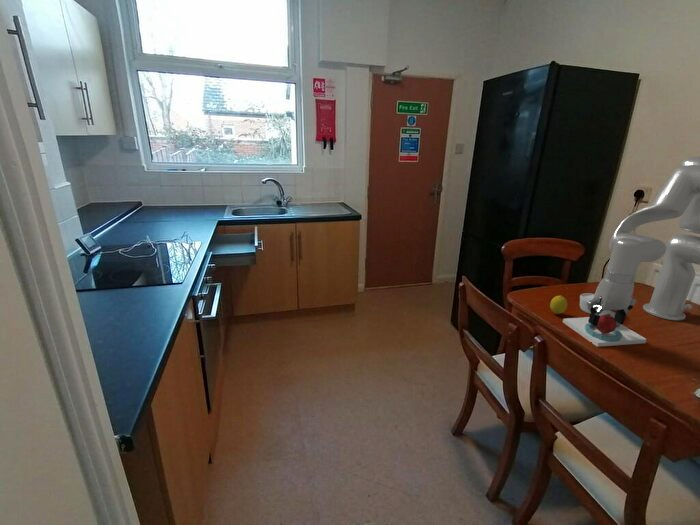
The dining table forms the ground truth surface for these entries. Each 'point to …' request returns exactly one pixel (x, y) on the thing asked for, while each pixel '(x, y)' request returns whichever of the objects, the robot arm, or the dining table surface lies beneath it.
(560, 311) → the lemon
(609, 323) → the pomegranate
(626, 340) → the carrier plate
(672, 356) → the dining table surface
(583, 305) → the ramekin
